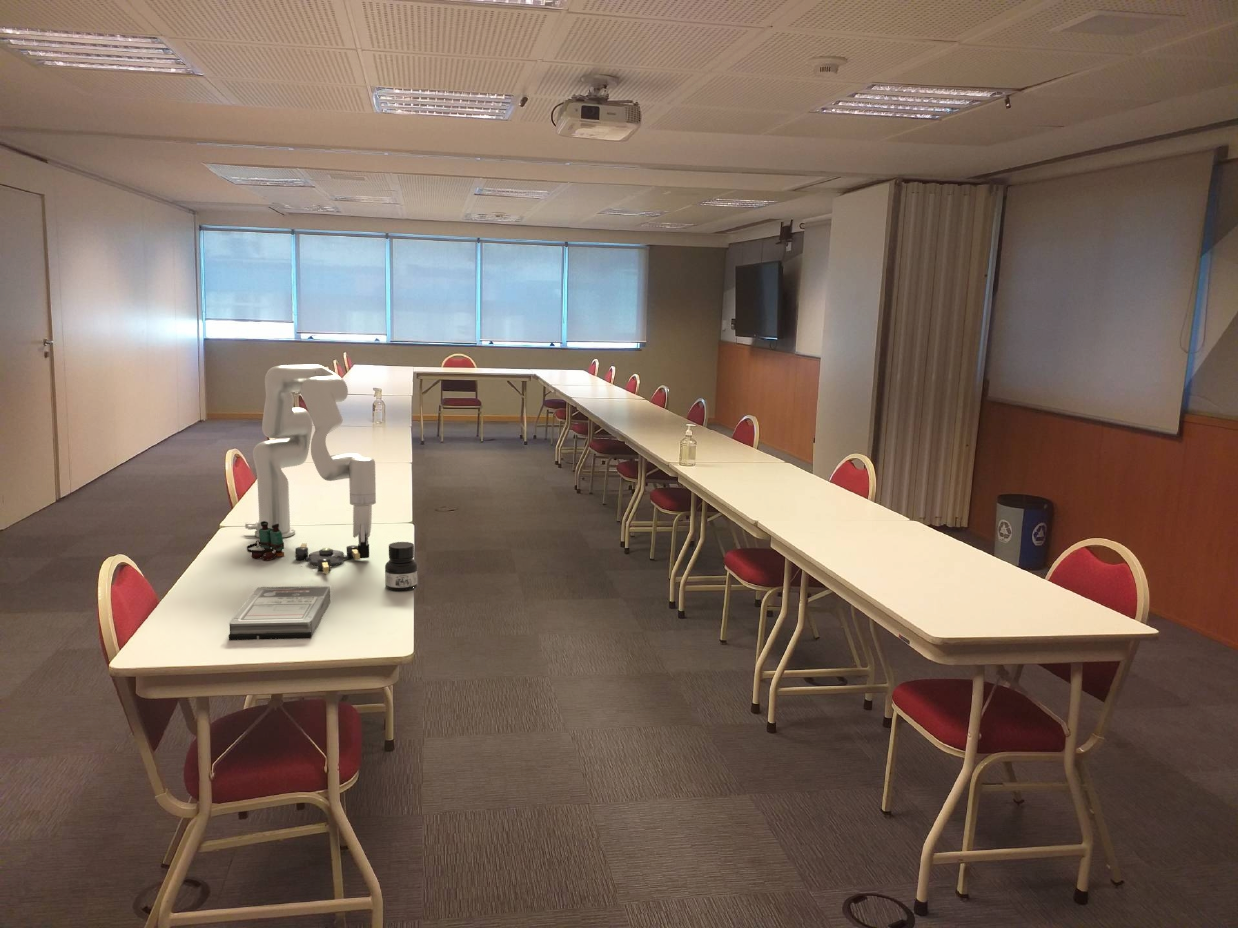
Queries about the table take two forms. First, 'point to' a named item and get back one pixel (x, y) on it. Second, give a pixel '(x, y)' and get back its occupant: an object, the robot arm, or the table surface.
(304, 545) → the knob
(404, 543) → the ink bottle
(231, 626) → the hard drive
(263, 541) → the binoculars
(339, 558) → the tribrach plate
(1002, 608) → the table surface
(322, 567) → the knob
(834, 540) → the table surface
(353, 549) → the knob
